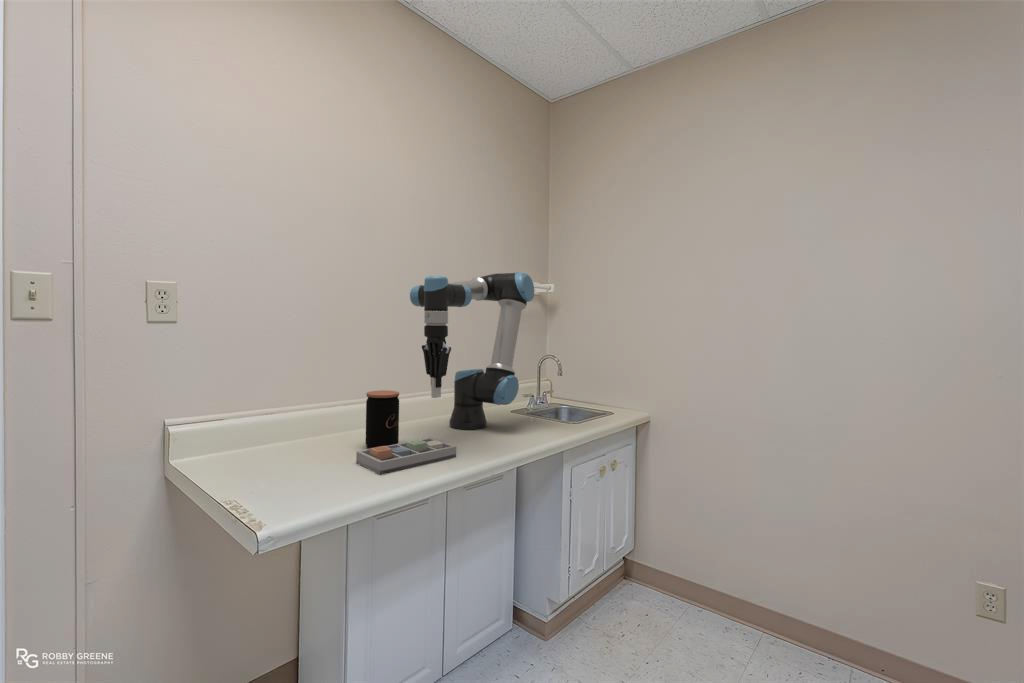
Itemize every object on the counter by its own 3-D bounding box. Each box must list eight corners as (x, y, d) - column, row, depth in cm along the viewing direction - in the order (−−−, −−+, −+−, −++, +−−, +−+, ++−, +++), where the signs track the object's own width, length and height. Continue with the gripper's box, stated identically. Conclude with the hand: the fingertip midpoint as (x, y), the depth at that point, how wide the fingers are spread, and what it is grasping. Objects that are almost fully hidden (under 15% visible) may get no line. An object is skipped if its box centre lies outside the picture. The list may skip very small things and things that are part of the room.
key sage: (418, 446, 144) (418, 438, 144) (427, 450, 141) (427, 441, 141) (405, 449, 141) (405, 441, 141) (414, 452, 137) (414, 444, 137)
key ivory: (434, 447, 148) (434, 439, 148) (442, 450, 145) (442, 442, 145) (422, 450, 145) (422, 442, 145) (430, 453, 142) (430, 445, 142)
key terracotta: (384, 453, 136) (384, 445, 135) (392, 457, 132) (392, 448, 132) (369, 456, 132) (369, 447, 132) (377, 460, 129) (377, 451, 129)
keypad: (430, 447, 153) (430, 437, 153) (456, 457, 143) (456, 446, 143) (356, 462, 134) (356, 451, 134) (380, 474, 125) (380, 462, 124)
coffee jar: (389, 451, 147) (390, 395, 147) (359, 448, 149) (360, 394, 149) (403, 443, 158) (404, 391, 157) (375, 440, 160) (376, 389, 159)
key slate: (401, 454, 140) (401, 446, 140) (410, 457, 137) (410, 449, 136) (388, 457, 137) (388, 448, 136) (396, 460, 133) (396, 451, 133)
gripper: (414, 324, 149) (414, 395, 151) (438, 325, 140) (438, 401, 142) (433, 324, 155) (433, 393, 156) (458, 325, 146) (457, 398, 147)
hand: (436, 397), depth 149 cm, fingers closed
